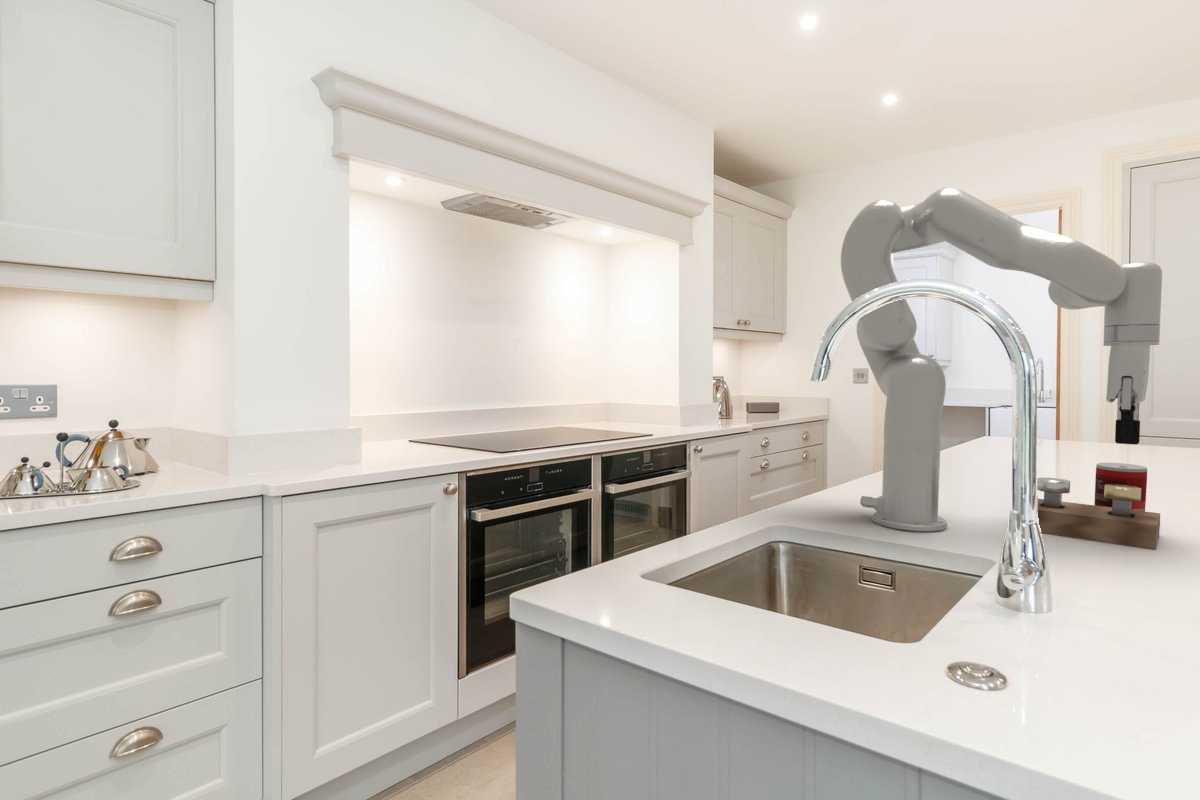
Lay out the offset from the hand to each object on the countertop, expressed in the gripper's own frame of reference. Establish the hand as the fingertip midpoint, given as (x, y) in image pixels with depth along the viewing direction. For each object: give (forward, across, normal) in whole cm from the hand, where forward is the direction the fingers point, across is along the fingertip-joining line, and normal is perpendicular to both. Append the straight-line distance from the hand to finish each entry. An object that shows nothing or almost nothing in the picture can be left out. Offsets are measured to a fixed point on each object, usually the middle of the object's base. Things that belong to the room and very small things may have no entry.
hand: (1127, 443), depth 115 cm
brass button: (+14, 0, 0) cm, 14 cm away
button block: (+16, 0, -6) cm, 17 cm away
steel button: (+14, 0, -10) cm, 17 cm away
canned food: (+17, -13, -2) cm, 21 cm away
